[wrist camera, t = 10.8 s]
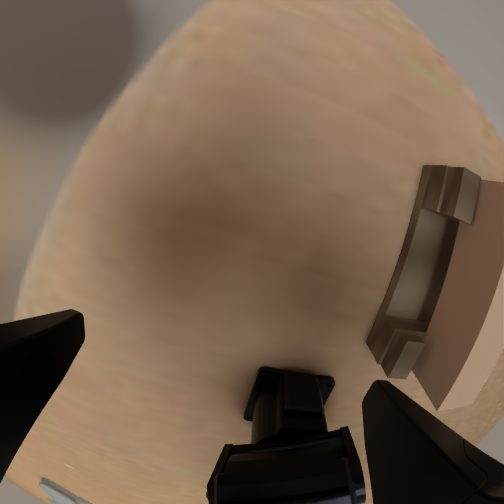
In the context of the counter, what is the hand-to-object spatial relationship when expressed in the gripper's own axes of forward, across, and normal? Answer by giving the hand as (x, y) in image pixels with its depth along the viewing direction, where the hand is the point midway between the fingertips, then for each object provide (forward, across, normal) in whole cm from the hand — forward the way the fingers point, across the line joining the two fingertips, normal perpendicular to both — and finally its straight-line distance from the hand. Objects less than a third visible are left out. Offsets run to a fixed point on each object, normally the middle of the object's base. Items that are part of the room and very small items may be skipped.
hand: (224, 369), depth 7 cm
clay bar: (+9, -15, -2) cm, 17 cm away
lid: (+13, +31, +76) cm, 83 cm away
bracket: (+12, -15, -2) cm, 19 cm away
